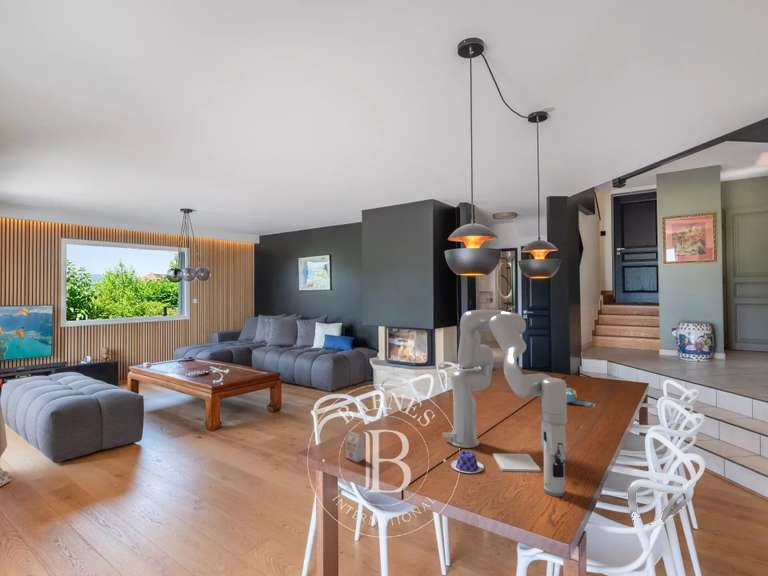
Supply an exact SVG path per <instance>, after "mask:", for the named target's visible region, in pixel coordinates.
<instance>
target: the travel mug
mask: <svg viewBox="0 0 768 576" xmlns="http://www.w3.org/2000/svg"><path fill="white" fill-rule="evenodd" d="M546 439H547V437H546V432H544V448H543V491H544V492H545V493H546V494H547V495H548V496H549V495H550V496H552V497H562V496H564V495H565V493H566V492H565V491H566V490H565V489H566V487H565V486H566V483H565V481H566V480H565V479H566V477H565V473H566V472H565V465H566V464H565V462H566V461H565V462H564V477H553V464H554V459H553V456H551V455H550V454H548V452H547V444H546V443H547V440H546ZM556 454H559V452H556ZM556 459H559V457H556Z"/></svg>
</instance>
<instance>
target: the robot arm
mask: <svg viewBox="0 0 768 576" xmlns="http://www.w3.org/2000/svg"><path fill="white" fill-rule="evenodd" d="M526 328H527V323H526V320H525V319H524V318H523V316H522V315H520V314H519V313H515V312H511V311H506V310H502V309H475V310H473V309H472V310H468V311H465V312H464V313H463V314H462V315H461V318H460V323H459V330H460V337H459V342H458V343H459V344H458V350H457V351H458V352H457V364H458V365H459V366H460V367H462V368H463V369H461V368H460V369H459V370H458V369H457V370H455V371H453V372H452V374H451V376H450V383H451V388H452V397H453V404H452V405H453V412H452V413H453V417H452V418H453V429H451V431H449V432H442V438H445V439H446V440H447V439H449V443H450V444H451V445H452V446H454V447H458V448H461V449H462V448H463V449H472V448H476V447H478V446H480V440H479V438H477V426H476V425H477V423H476V421H477V413H476V412H477V403H476V399H475V397H474V395H473V394H472V392H474V391H475V392H476V391H482V390H486V389H487V388H488V387H489V386H490V383H491V379H492V373H493V367H494V359H495V358H494V353H493V350H492V348H491V347H490V346H489V345H486V344H483V343H482V344H481V339H482V337H481V334H480V332H482V331H485V332H486V331H491V333H492V335H493V336H494V338H495V340H496V341H497V345H498V346H499V347H500V349H501V351H502V352H503V354H504V359H503V373H504V374H503V375H504V378H505V379H506V381H507V383H508V385H509V387H510V388H511V390H512V391H513V392H514V394H515V395H516V396H518V397H519V398H523V399H526V398H533V397H541V428H540V446H541V447H542V449H544V432H546V437H547V439H546V440H547V443H546V444H547V452H548V454H550V455H551V456H553V459H554V464H553V477H564V462H566V455H567V435H566V424H567V403H566V389H567V383H566V381H565V380H564V379H562V378H558V377H552V376H550V375H548V374H546V373H541V372H540V373H539V372H537V373H529V374H523V373H522V370H521V368H520V367H519V365H518V361H517V359H518V357H520V356H521V355H522V354H523V353H525V351H526V349H527V343H526V342H525V340H524V338H523V337H522V336H521V335H522V334H524V332H525V331H526ZM556 452H559V454H556ZM556 457H559V459H556Z"/></svg>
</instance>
